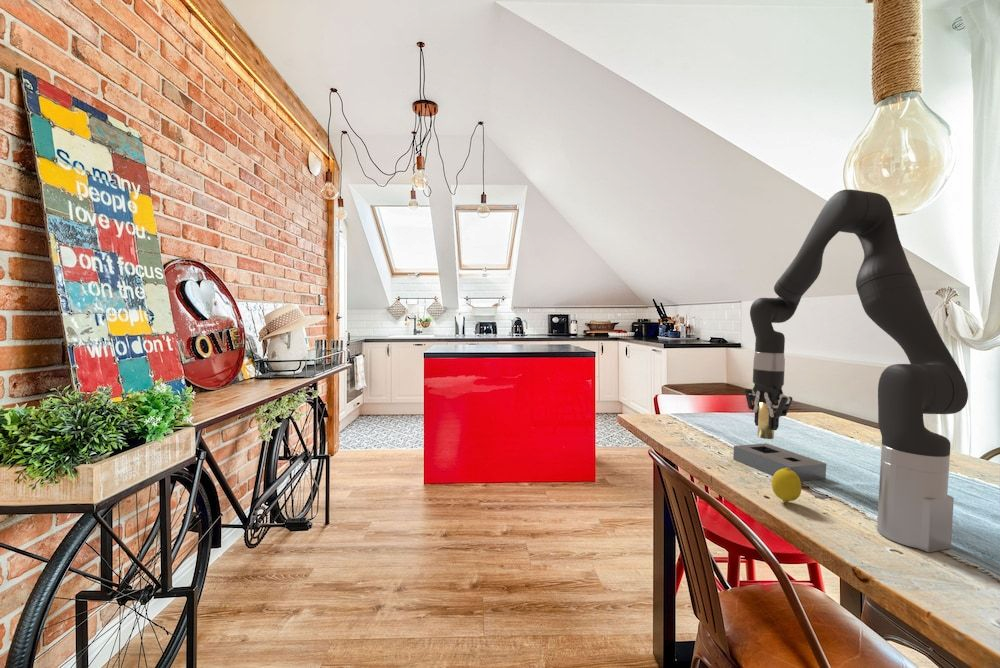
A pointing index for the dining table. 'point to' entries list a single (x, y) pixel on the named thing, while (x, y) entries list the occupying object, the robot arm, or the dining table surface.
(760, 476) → the dining table surface
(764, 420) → the gold metal block
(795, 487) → the lemon
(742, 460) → the plate
